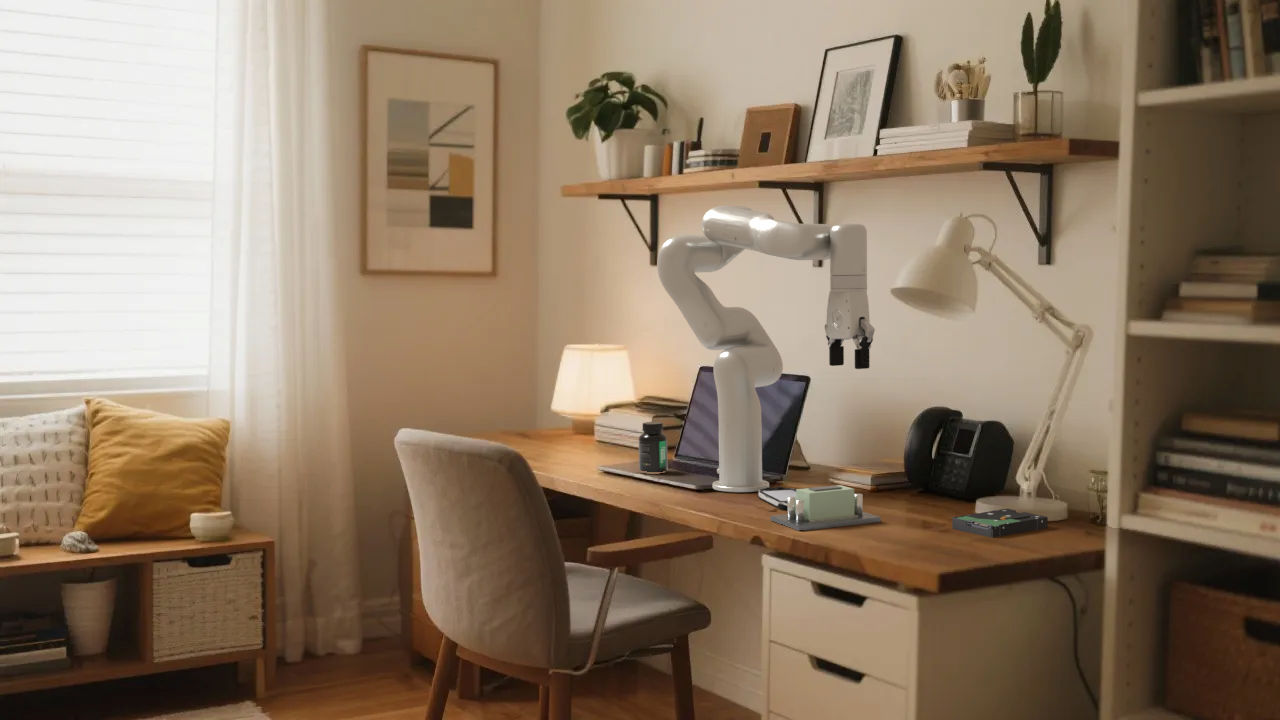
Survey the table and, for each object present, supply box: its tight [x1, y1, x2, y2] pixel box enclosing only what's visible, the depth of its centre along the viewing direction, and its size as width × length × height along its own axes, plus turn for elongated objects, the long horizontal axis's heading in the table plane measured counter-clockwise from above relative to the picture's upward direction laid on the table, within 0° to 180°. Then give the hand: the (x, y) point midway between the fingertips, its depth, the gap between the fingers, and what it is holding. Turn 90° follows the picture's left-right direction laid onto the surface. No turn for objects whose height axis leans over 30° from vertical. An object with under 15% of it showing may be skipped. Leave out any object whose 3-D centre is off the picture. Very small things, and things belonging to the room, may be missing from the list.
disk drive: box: [951, 508, 1049, 539], centre depth 250 cm, size 10×3×15 cm
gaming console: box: [757, 486, 796, 512], centre depth 279 cm, size 19×9×2 cm, turn 14°
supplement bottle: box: [638, 421, 669, 472], centre depth 321 cm, size 7×7×12 cm
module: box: [795, 484, 855, 519], centre depth 259 cm, size 5×10×5 cm, turn 113°
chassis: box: [770, 493, 882, 532], centre depth 259 cm, size 11×18×5 cm, turn 113°
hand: (849, 366), depth 276 cm, fingers open, 9 cm apart
